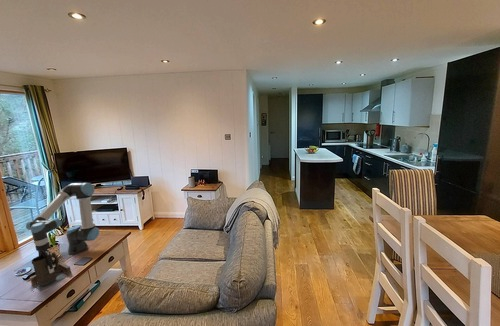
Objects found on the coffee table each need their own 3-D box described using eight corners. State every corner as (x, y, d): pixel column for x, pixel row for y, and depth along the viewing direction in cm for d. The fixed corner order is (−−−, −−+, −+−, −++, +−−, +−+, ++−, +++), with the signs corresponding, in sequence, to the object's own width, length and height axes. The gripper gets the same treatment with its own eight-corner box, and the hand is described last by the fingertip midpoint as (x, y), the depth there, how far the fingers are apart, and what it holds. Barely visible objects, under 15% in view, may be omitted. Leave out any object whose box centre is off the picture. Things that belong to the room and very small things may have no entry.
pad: (60, 272, 187) (60, 271, 187) (68, 276, 181) (68, 276, 181) (33, 285, 172) (33, 285, 172) (41, 290, 166) (41, 290, 166)
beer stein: (44, 286, 167) (39, 261, 165) (33, 286, 169) (27, 260, 167) (65, 273, 182) (60, 250, 180) (54, 273, 184) (49, 250, 182)
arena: (62, 268, 191) (61, 262, 190) (71, 273, 184) (69, 266, 183) (31, 284, 174) (29, 277, 172) (40, 290, 167) (38, 283, 166)
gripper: (28, 242, 172) (35, 269, 177) (42, 249, 162) (49, 277, 166) (41, 238, 179) (47, 263, 183) (55, 244, 168) (61, 271, 173)
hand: (48, 270), depth 175 cm, fingers closed on beer stein, 9 cm apart
